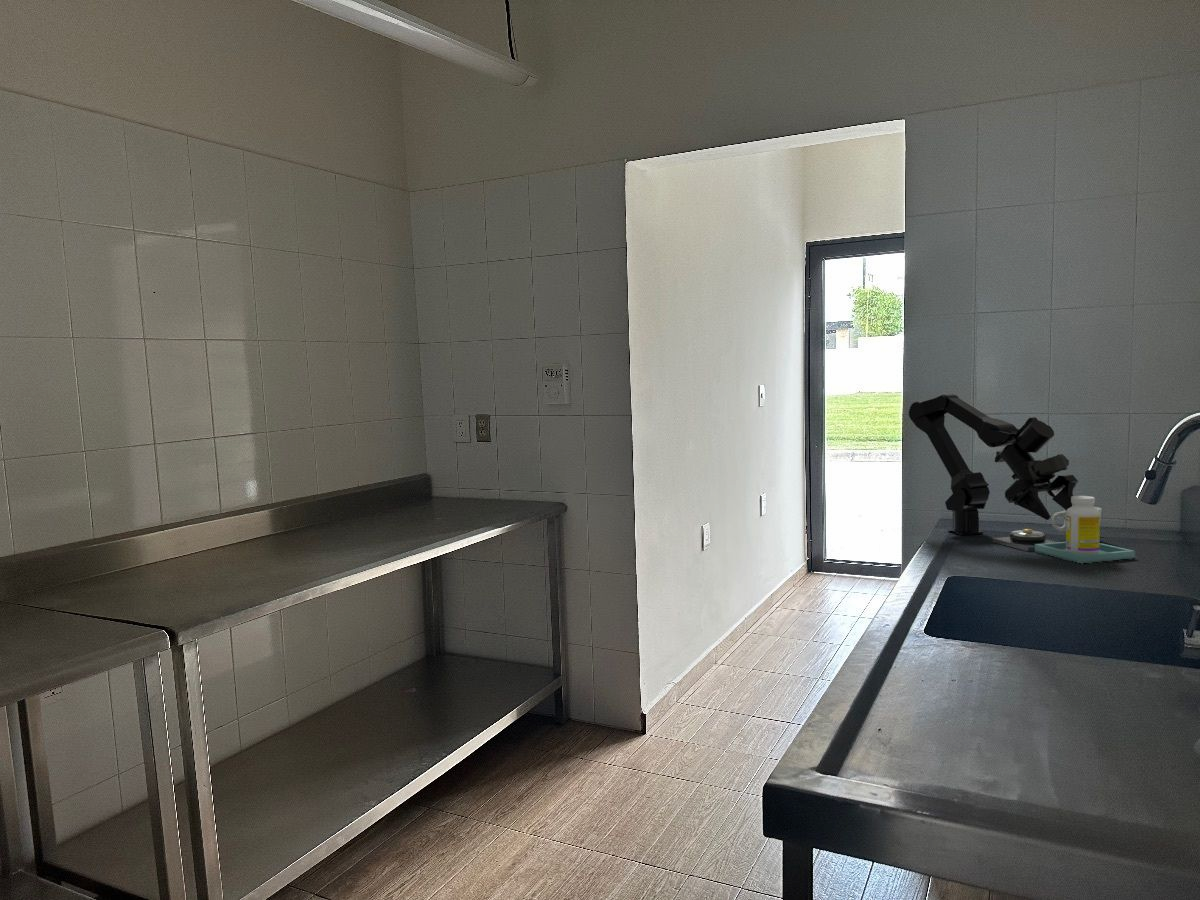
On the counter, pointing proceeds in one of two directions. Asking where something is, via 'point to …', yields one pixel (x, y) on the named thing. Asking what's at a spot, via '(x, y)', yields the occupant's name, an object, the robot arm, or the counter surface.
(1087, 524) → the supplement bottle
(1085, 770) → the counter surface
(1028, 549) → the block
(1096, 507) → the cup
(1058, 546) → the tray
